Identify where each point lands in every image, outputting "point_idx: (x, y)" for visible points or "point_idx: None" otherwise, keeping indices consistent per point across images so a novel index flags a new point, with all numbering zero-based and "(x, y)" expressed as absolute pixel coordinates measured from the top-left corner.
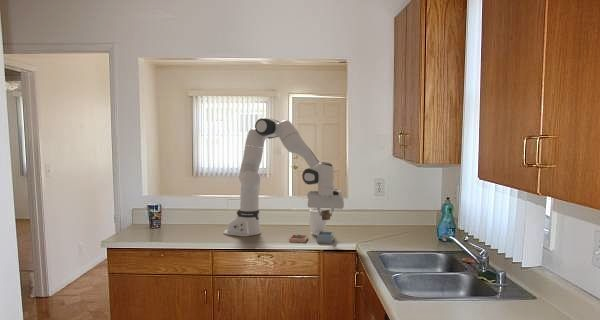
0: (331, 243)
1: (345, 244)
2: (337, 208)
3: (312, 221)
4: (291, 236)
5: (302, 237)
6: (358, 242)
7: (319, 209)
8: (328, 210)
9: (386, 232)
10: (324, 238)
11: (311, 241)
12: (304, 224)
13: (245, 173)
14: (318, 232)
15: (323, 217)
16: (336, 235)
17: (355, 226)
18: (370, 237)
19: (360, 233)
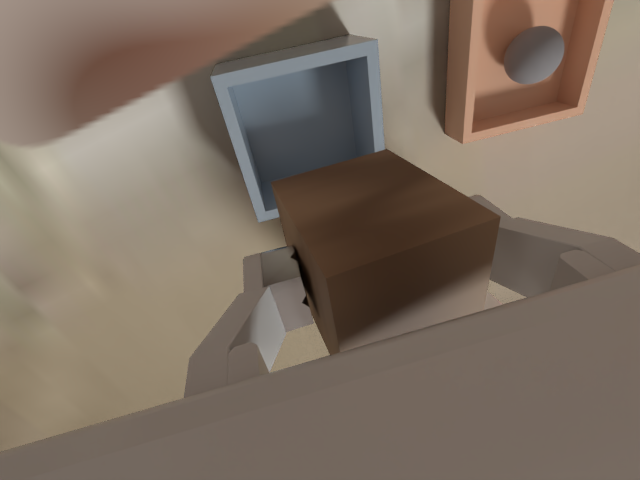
0: (216, 64)
1: (106, 126)
2: (28, 445)
3: (487, 300)
4: (598, 36)
5: (493, 119)
6: (52, 230)
7: (570, 260)
8: (332, 315)
9: None
10: (287, 54)
11: (408, 91)
12: None
13: None
14: (383, 145)
15: (384, 173)
16: None
17: None
18: (70, 363)
19: (178, 394)
